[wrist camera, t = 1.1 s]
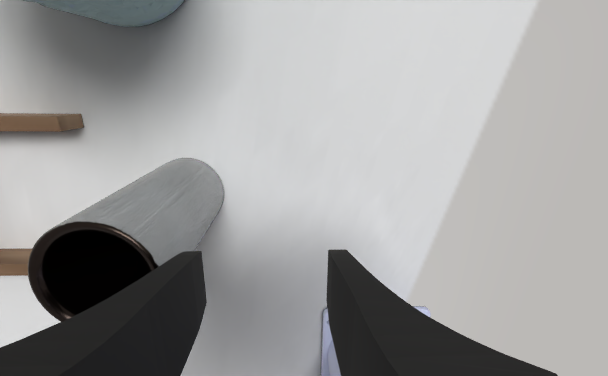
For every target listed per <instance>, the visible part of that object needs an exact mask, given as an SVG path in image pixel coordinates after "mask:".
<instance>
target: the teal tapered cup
mask: <svg viewBox="0 0 608 376" xmlns="http://www.w3.org/2000/svg"><path fill="white" fill-rule="evenodd" d="M23 1H28V2H37V3H39V4H41V5H43V6H45V7H49V8H52V9H56V10H61V11H65V12H69V13H73V14H77V15H81V16H85V17H89V18H92V19H95V20H98V21H101V22H104V23H108V24H113V25H118V26H122V27H137V26H144V25H148V24H152V23H155V22H157V21H159V20H161V19H163V18H165V17H166V16H168V15H170V14H171V13H173V12H174V11H175V10H176V9H177V8H178V7H179V6H180V5H181V4H182V3H183V1H184V0H23Z"/></svg>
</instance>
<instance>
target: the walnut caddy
mask: <svg viewBox="0 0 608 376" xmlns="http://www.w3.org/2000/svg"><path fill="white" fill-rule="evenodd" d="M78 128H83V122H82V116H81V114H2V113H0V131H66V130H72V129H78ZM31 251H32V249H0V276H8V275H28V260H29V256H30V253H31Z"/></svg>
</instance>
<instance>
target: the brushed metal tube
mask: <svg viewBox="0 0 608 376" xmlns="http://www.w3.org/2000/svg"><path fill="white" fill-rule="evenodd" d="M223 199H224V189H223V185H222V182H221V180H220V178H219V176H218V175H217V173H216V172H215V171H214V170H213V169H212V168H211V167H210V166H209V165H207V164H205V163H204V162H202V161H199V160H196V159H192V158H180V159H176V160H173V161H170V162H168V163H166V164H164V165H162V166H161V167H159V168H157V169H155V170H153V171H152V172H150V173H148V174H146V175H145V176H143V177H141V178H139V179H138V180H136V181H134V182H132V183H131V184H129V185H127V186H125V187H124V188H122V189H120V190H118V191H116V192H115V193H113V194H111V195H109V196H108V197H106V198H104V199H102V200H101V201H99V202H97V203H95V204H94V205H92V206H90V207H88V208H87V209H85V210H83V211H81V212H79V213H78V214H76V215H74V216H72V217H71V218H69V219H67V220H65V221H64V222H62V223H60V224H58V225H57V226H55V227H53V228H52V229H50V230H49V231H47V232H46V233H45V234H43V235H42V236H41V237H40V238H39V239H38V241H37V242H36V243H35V245H34V247H33V249H32V251H31V253H30V256H29V260H28V277H29V282H30V285H31V288H32V290H33V292H34V294H35V296H36V298H37V299H38V301H39V302H40V303H41V305H42V306H43V307H44V308H45V309H46V310H47V311H48V312H49V313H50V314H51V315H52V316H54V317H55V318H56V319H58V320H59V321H61V322H63V321H65V320H67V319H69V318H71V317H73V316H75V315H77V314H79V313H81V312H83V311H85V310H87V309H89V308H91V307H93V306H95V305H97V304H99V303H100V302H102V301H104V300H106V299H108V298H109V297H111V296H113V295H114V294H116V293H118V292H119V291H121V290H123V289H124V288H126V287H128V286H129V285H131V284H133V283H134V282H136V281H137V280H139V279H141V278H142V277H144V276H145V275H147V274H148V273H150V272H151V271H153V270H154V269H156V268H157V267H159V266H160V265H162V264H163V263H165V262H166V261H168V260H170V259H171V258H173V257H174V256H176V255H177V254H179V253H181V252H183V251H194V250H195V249H196V247H197V245H198V244H199V242H200V241H201V239H202V237H203V236H204V234H205V233H206V231H207V229H208V228H209V226H210V225H211V223H212V221H213V220H214V218H215V217H216V215H217V213H218V212H219V210H220V208H221V205H222V203H223Z"/></svg>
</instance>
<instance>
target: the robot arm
mask: <svg viewBox="0 0 608 376" xmlns="http://www.w3.org/2000/svg"><path fill="white" fill-rule="evenodd" d="M205 306H206V292H205V283H204V273H203V263H202V253H201V251H183V252H181V253H179V254H177V255H176V256H174V257H173V258H171V259H170V260H168V261H166V262H165V263H163V264H162V265H160V266H159V267H157V268H156V269H154V270H153V271H151V272H150V273H148V274H147V275H145V276H144V277H142V278H141V279H139V280H137V281H136V282H134V283H133V284H131V285H129V286H128V287H126V288H124V289H123V290H121V291H119V292H118V293H116V294H114V295H113V296H111V297H109V298H108V299H106V300H104V301H102V302H100V303H99V304H97V305H95V306H93V307H91V308H89V309H87V310H85V311H83V312H81V313H79V314H77V315H75V316H73V317H71V318H69V319H67V320H65V321H63V322H61V323H58V324H56V325H54V326H51V327H49V328H47V329H44V330H42V331H40V332H37V333H35V334H33V335H30V336H28V337H26V338H24V339H21V340H19V341H16V342H14V343H11V344H9V345H6V346H3V347H1V348H0V376H180V375H181V373H182V370H183V368H184V366H185V363H186V361H187V358H188V356H189V354H190V351H191V349H192V346H193V344H194V341H195V339H196V337H197V334H198V331H199V329H200V325H201V322H202V318H203V314H204V310H205ZM430 315H431V314H430V311H429V310H428V308H427V307H424V306H422V307H421V306H416V307H413V306H411V305H410V304H408V303H407V302H405V301H404V300H403V299H401V298H400V297H398V296H397V295H396V294H395V293H393V292H392V291H391V290H390V289H388V288H387V287H386V286H384V285H383V284H382V283H381V282H380V281H379V280H377V279H376V278H375V277H374V276H373V275H372V274H371V273H370V272H369V271H367V270H366V269H365V268H364V267H363V266H362V265H361V264H360V263H359V262H358V261H357V260H356V259H355V258H354V257H353V256H352V255H351V254H350V253H349V252H348V251H347V250H328V277H327V309H325V310H324V312H323V335H322V367H321V376H557V374H555V373H553V372H550V371H548V370H545V369H542V368H540V367H537V366H534V365H532V364H529V363H526V362H524V361H521V360H518V359H516V358H513V357H510V356H508V355H505V354H503V353H500V352H498V351H496V350H493V349H491V348H489V347H487V346H484V345H482V344H480V343H478V342H476V341H473V340H471V339H469V338H467V337H465V336H463V335H461V334H459V333H457V332H455V331H453V330H451V329H450V328H448V327H446V326H444V325H442V324H440V323H439V322H437V321H435V320H433V319H431V318H430ZM327 320H329V321H327Z"/></svg>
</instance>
